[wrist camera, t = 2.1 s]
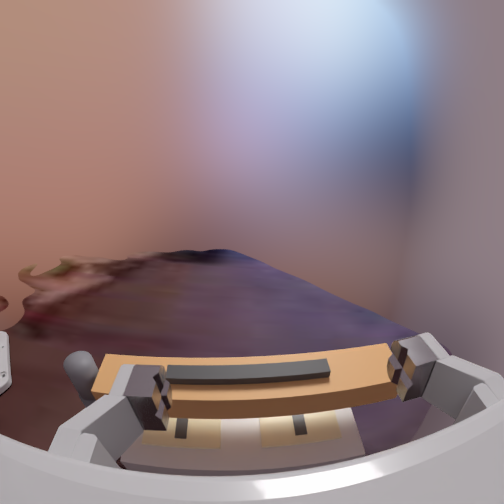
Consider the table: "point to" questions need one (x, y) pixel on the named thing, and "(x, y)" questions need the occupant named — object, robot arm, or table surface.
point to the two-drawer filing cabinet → (245, 445)
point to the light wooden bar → (252, 382)
